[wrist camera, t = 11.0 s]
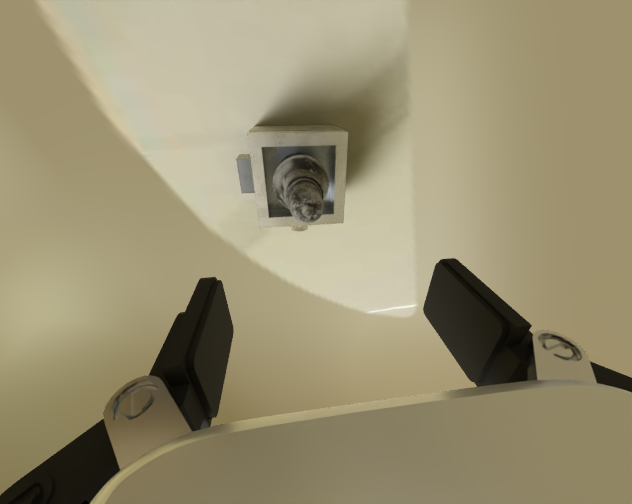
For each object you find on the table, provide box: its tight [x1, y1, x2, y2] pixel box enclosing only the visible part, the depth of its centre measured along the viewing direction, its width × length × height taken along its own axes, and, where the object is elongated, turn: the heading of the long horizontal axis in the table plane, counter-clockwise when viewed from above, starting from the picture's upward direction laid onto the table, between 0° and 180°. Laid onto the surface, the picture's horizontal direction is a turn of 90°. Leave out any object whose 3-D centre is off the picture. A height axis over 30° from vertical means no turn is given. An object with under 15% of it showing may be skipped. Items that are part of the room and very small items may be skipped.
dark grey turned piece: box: [273, 152, 329, 223], centre depth 24 cm, size 6×6×12 cm
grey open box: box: [236, 125, 348, 231], centre depth 32 cm, size 13×12×10 cm
